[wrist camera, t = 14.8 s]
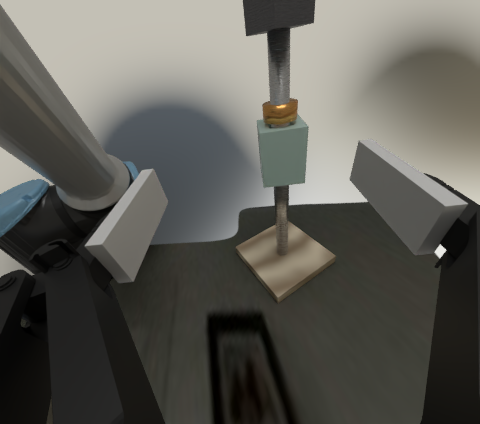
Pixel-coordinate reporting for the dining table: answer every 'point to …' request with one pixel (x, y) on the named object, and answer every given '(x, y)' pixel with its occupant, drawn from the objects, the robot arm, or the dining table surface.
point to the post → (278, 78)
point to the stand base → (284, 260)
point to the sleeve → (283, 152)
